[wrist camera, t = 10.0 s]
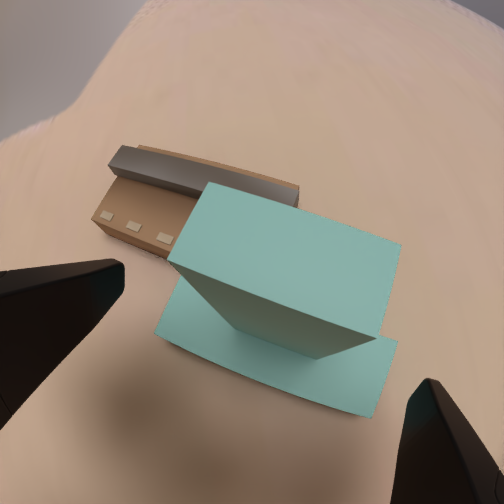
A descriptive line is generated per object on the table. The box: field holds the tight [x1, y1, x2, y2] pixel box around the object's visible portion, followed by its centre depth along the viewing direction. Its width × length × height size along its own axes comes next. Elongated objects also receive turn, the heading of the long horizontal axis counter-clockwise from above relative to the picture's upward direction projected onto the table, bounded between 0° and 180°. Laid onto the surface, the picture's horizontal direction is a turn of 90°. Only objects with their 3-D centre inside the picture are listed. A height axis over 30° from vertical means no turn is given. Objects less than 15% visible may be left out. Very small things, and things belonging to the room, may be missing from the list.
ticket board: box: [91, 145, 299, 259], centre depth 19 cm, size 6×13×4 cm, turn 67°
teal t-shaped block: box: [154, 182, 401, 419], centre depth 11 cm, size 4×12×12 cm, turn 67°
